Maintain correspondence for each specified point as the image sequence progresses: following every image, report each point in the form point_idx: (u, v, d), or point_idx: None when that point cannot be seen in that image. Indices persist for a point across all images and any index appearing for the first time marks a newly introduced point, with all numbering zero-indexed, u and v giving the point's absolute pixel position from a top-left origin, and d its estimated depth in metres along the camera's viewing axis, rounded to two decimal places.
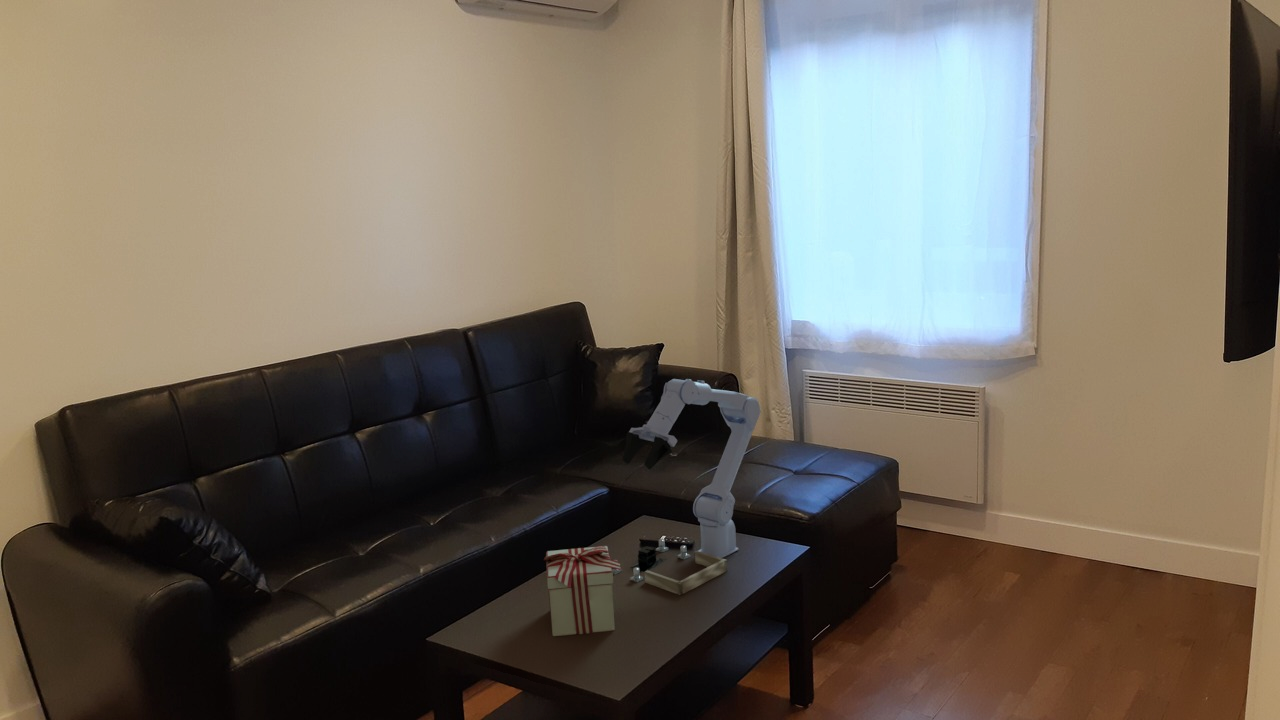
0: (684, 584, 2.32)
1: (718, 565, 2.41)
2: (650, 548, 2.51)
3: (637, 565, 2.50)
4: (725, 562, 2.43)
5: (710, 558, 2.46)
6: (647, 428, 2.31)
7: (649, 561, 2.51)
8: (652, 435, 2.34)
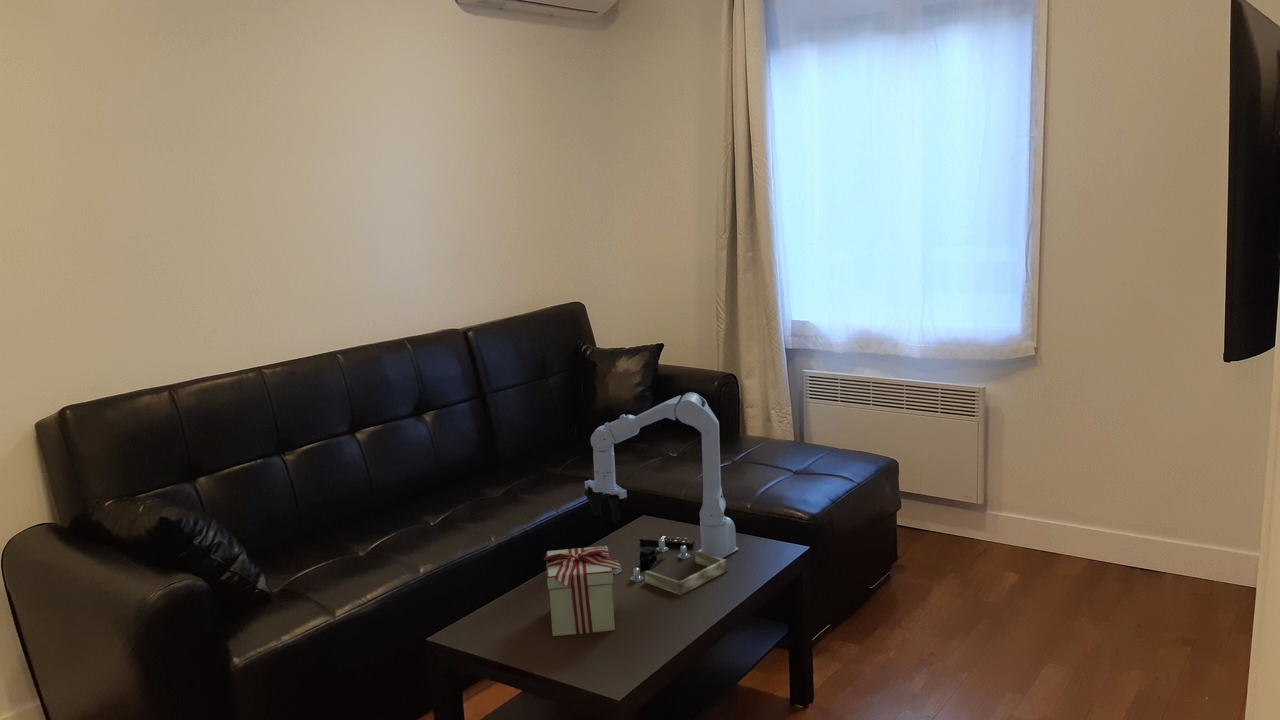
0: (684, 584, 2.32)
1: (718, 565, 2.41)
2: (651, 548, 2.51)
3: (639, 566, 2.50)
4: (725, 562, 2.43)
5: (710, 558, 2.46)
6: (597, 491, 2.55)
7: (650, 561, 2.51)
8: None
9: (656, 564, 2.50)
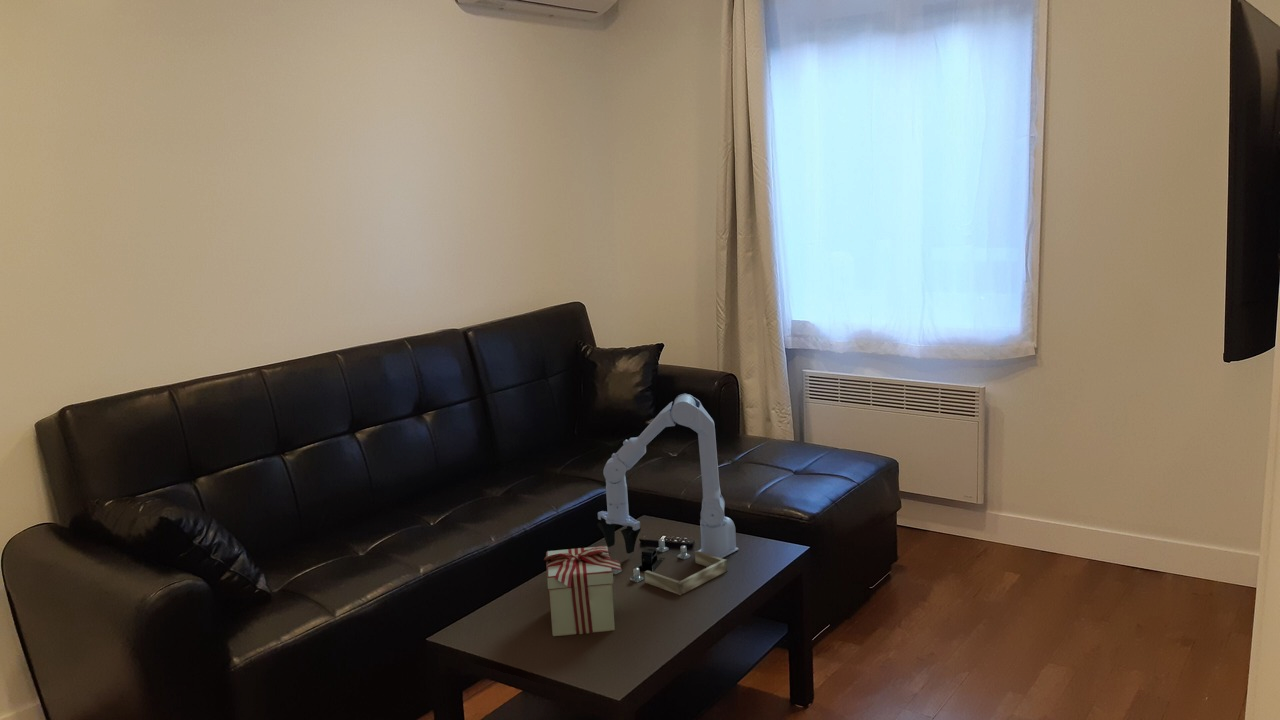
0: (684, 584, 2.32)
1: (718, 565, 2.41)
2: (652, 548, 2.51)
3: (641, 566, 2.49)
4: (725, 562, 2.43)
5: (710, 558, 2.46)
6: None
7: (651, 561, 2.51)
8: None
9: (658, 564, 2.50)
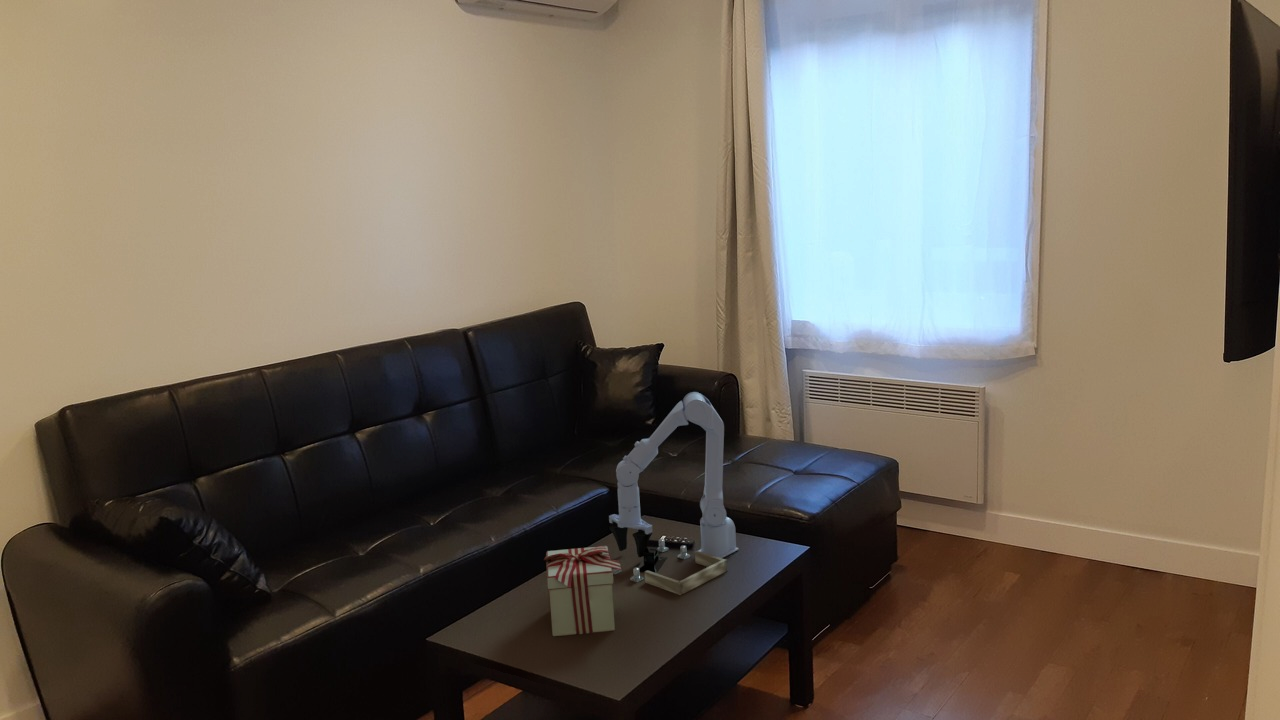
0: (684, 584, 2.32)
1: (718, 565, 2.41)
2: (653, 548, 2.51)
3: (643, 566, 2.49)
4: (725, 562, 2.43)
5: (710, 558, 2.46)
6: None
7: None
8: None
9: (659, 563, 2.50)
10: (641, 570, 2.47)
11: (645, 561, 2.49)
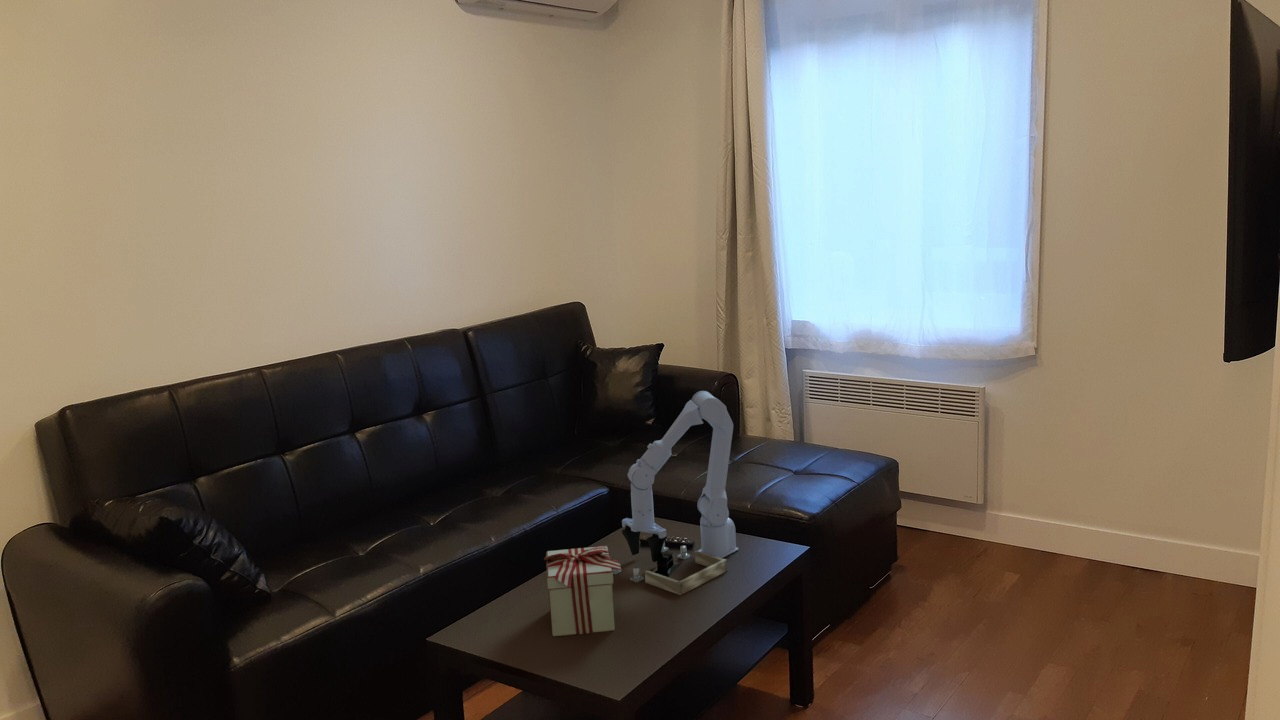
0: (684, 584, 2.32)
1: (718, 565, 2.41)
2: (668, 553, 2.47)
3: (657, 571, 2.45)
4: (725, 562, 2.43)
5: (710, 558, 2.46)
6: None
7: (667, 566, 2.47)
8: None
9: (674, 569, 2.46)
10: None
11: (658, 566, 2.46)
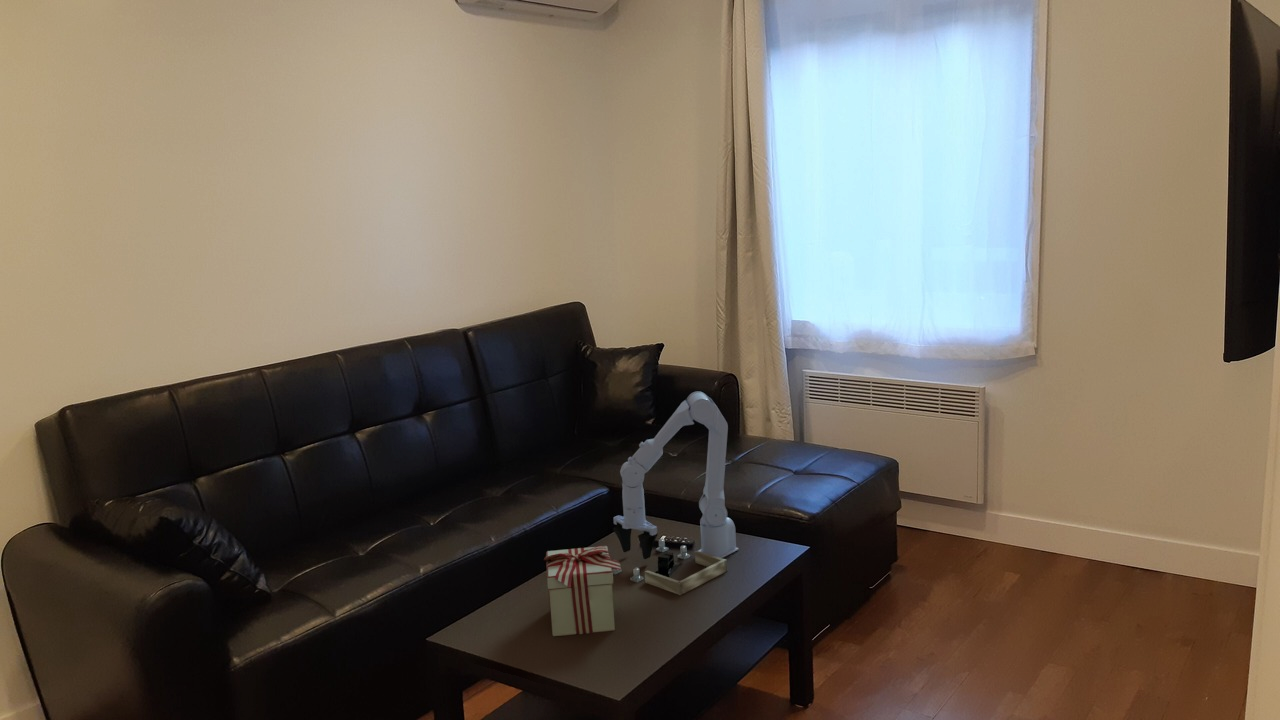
0: (684, 584, 2.32)
1: (718, 565, 2.41)
2: (668, 553, 2.47)
3: (657, 571, 2.45)
4: (725, 562, 2.43)
5: (710, 558, 2.46)
6: None
7: (668, 566, 2.47)
8: None
9: (674, 569, 2.46)
10: None
11: (659, 566, 2.46)
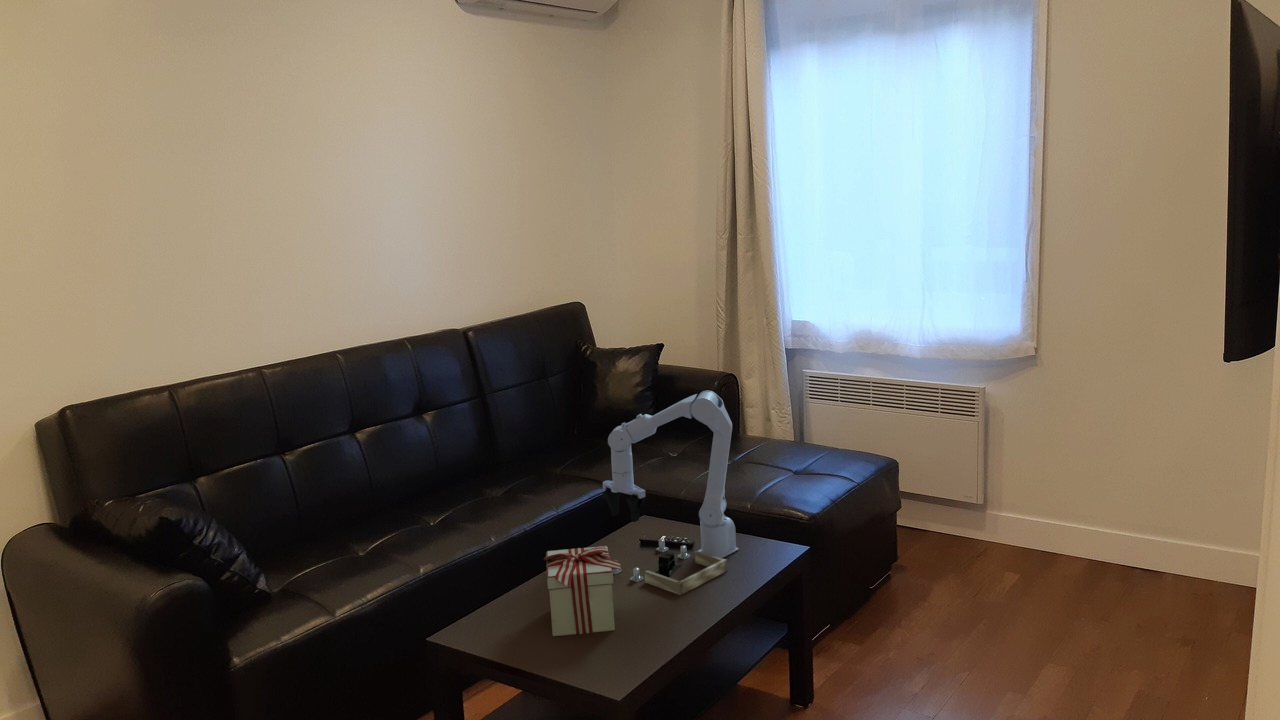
0: (684, 584, 2.32)
1: (718, 565, 2.41)
2: (669, 553, 2.47)
3: (658, 571, 2.45)
4: (725, 562, 2.43)
5: (710, 558, 2.46)
6: None
7: (669, 566, 2.47)
8: None
9: (675, 569, 2.46)
10: None
11: (660, 566, 2.45)
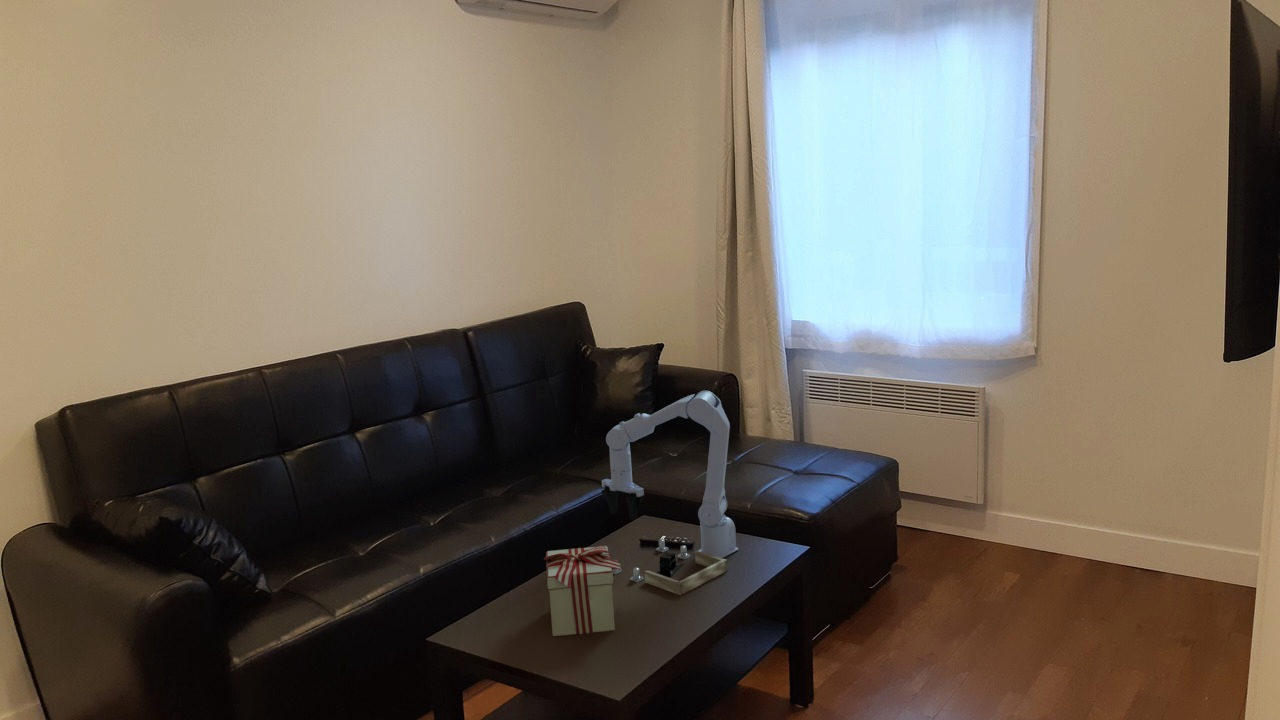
0: (684, 584, 2.32)
1: (718, 565, 2.41)
2: (670, 553, 2.47)
3: (659, 572, 2.45)
4: (725, 562, 2.43)
5: (710, 558, 2.46)
6: None
7: (670, 567, 2.47)
8: None
9: (676, 569, 2.46)
10: None
11: (661, 566, 2.45)
